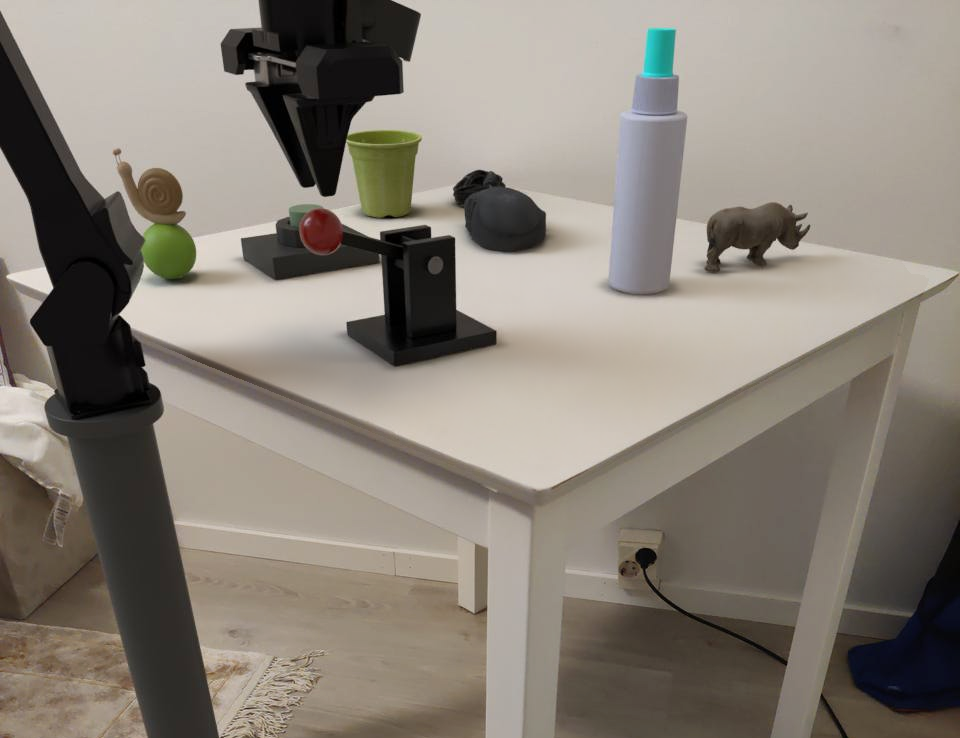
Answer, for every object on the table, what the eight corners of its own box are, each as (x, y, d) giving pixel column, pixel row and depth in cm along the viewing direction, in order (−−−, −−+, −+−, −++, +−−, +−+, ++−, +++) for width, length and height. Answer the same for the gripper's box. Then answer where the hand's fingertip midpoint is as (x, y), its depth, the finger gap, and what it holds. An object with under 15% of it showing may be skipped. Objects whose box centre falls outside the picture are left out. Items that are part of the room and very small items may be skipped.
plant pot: (438, 210, 125) (437, 134, 120) (394, 225, 119) (390, 146, 113) (379, 201, 129) (375, 127, 124) (334, 215, 123) (327, 138, 117)
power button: (298, 231, 102) (297, 213, 101) (285, 224, 105) (283, 206, 104) (330, 226, 104) (328, 209, 103) (316, 219, 106) (314, 202, 105)
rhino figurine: (818, 260, 106) (830, 200, 103) (712, 275, 102) (720, 213, 98) (794, 251, 109) (804, 192, 106) (690, 265, 105) (697, 205, 101)
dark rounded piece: (474, 255, 108) (474, 202, 105) (443, 191, 134) (442, 146, 130) (559, 252, 109) (561, 199, 106) (511, 189, 135) (512, 144, 131)
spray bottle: (626, 274, 102) (646, 25, 89) (679, 284, 99) (708, 28, 86) (597, 288, 98) (614, 29, 85) (651, 299, 95) (677, 33, 82)
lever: (305, 254, 75) (315, 207, 74) (288, 244, 77) (297, 199, 76) (436, 286, 82) (447, 244, 81) (416, 276, 85) (427, 235, 83)
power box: (275, 280, 101) (270, 239, 98) (243, 259, 107) (237, 220, 104) (379, 262, 106) (377, 223, 103) (343, 243, 112) (340, 206, 110)
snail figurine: (149, 269, 104) (125, 143, 97) (208, 271, 103) (187, 145, 96) (128, 284, 99) (100, 154, 92) (188, 286, 99) (166, 155, 92)
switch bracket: (394, 366, 81) (388, 255, 76) (347, 335, 87) (338, 230, 82) (496, 344, 85) (497, 237, 80) (444, 315, 91) (442, 215, 86)
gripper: (470, -60, 63) (472, 202, 72) (344, -63, 76) (359, 160, 85) (309, -58, 58) (333, 222, 67) (203, -61, 71) (235, 174, 80)
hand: (318, 191), depth 75 cm, fingers open, 3 cm apart
